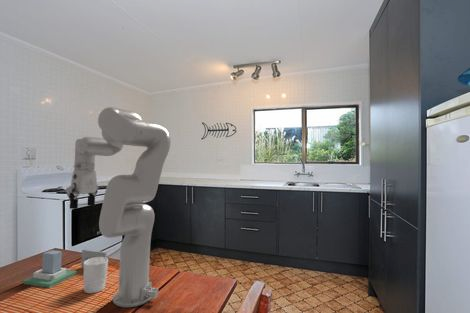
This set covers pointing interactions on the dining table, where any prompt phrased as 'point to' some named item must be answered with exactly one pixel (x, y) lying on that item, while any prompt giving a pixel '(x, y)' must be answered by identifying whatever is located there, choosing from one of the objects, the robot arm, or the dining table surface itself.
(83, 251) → the cassette
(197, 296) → the dining table surface
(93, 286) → the white cup
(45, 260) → the plug
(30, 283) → the header board
